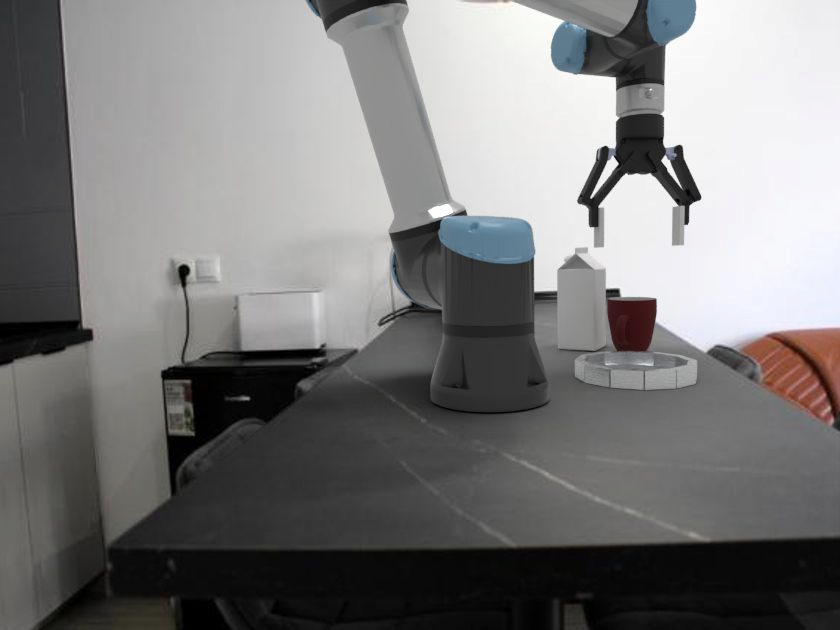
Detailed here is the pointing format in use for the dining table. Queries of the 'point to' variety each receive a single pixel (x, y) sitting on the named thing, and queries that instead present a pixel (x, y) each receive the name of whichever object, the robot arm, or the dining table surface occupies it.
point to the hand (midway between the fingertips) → (638, 246)
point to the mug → (631, 322)
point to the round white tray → (636, 370)
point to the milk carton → (581, 302)
